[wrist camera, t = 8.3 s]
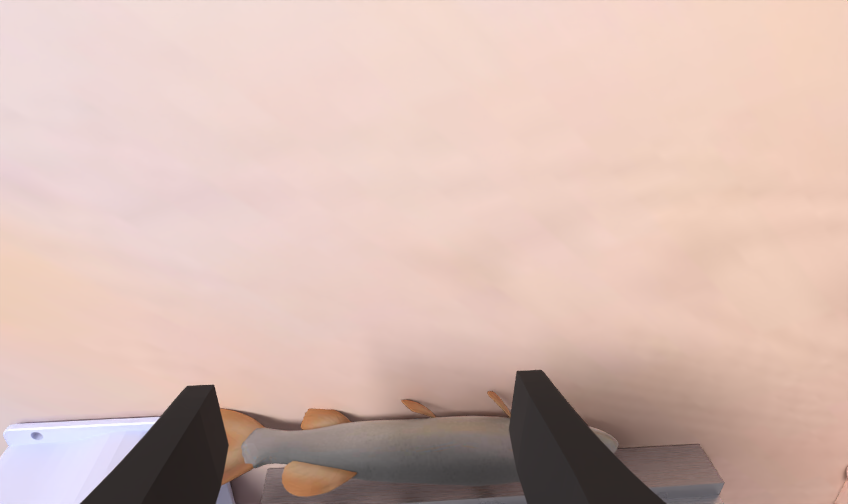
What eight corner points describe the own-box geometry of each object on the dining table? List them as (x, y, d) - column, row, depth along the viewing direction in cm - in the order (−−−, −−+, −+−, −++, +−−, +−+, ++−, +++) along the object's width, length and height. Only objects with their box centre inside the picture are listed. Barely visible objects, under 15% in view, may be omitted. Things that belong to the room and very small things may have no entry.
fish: (590, 438, 29) (627, 523, 25) (196, 437, 27) (162, 531, 23) (611, 378, 27) (656, 460, 23) (185, 371, 25) (144, 461, 20)
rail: (274, 504, 30) (265, 557, 27) (267, 468, 28) (256, 522, 26) (685, 478, 32) (713, 526, 29) (699, 444, 30) (730, 491, 27)
